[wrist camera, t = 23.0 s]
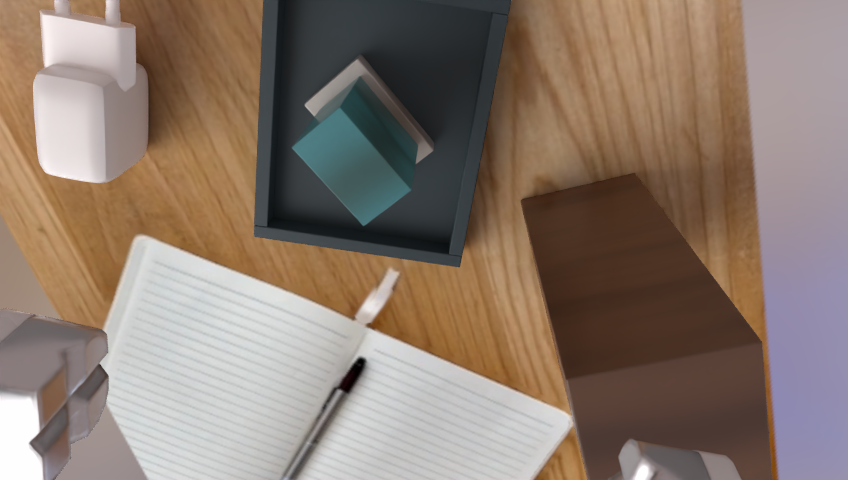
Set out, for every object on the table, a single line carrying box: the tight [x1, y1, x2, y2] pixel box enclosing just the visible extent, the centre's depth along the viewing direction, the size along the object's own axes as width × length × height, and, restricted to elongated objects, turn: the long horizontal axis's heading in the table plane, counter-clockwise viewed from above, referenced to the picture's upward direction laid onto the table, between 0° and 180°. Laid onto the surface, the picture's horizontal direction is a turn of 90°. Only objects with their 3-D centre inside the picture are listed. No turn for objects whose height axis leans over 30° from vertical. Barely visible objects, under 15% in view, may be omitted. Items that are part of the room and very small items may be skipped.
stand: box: [521, 173, 772, 480], centre depth 33 cm, size 7×7×18 cm
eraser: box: [292, 55, 434, 226], centre depth 34 cm, size 6×4×8 cm, turn 39°
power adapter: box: [33, 0, 148, 183], centre depth 35 cm, size 11×5×6 cm, turn 170°
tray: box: [254, 0, 511, 267], centre depth 38 cm, size 16×13×2 cm
